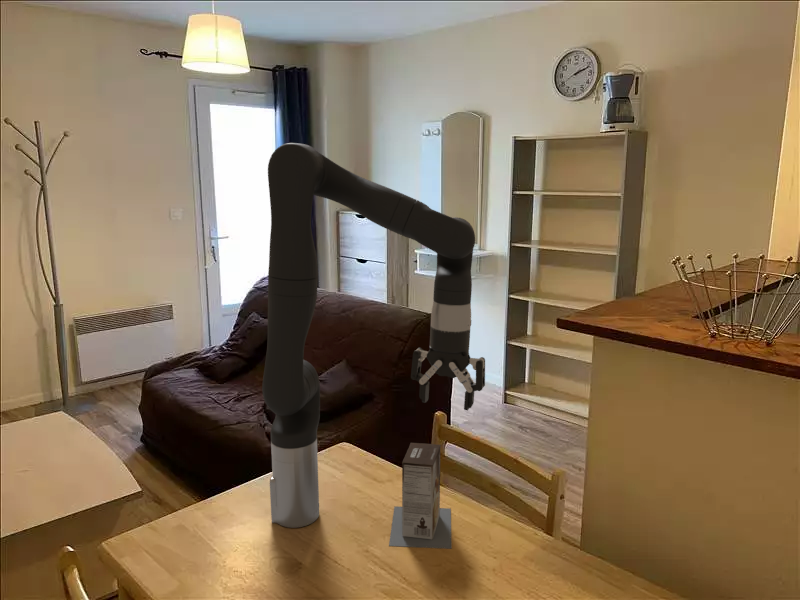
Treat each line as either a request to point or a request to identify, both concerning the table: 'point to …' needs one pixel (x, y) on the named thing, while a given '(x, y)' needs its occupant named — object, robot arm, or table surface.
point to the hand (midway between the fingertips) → (445, 405)
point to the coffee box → (421, 490)
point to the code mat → (439, 540)
